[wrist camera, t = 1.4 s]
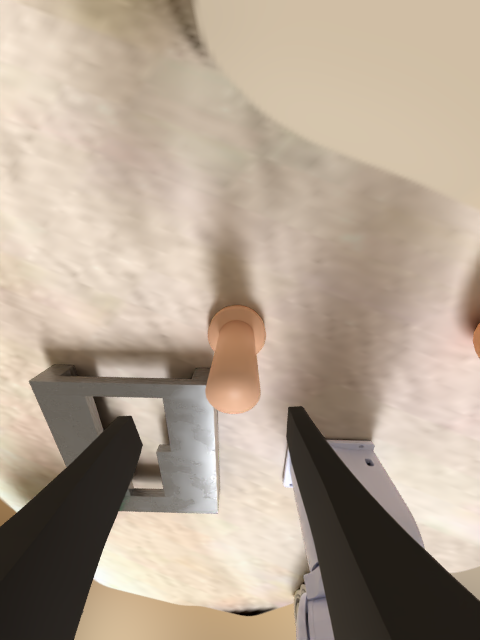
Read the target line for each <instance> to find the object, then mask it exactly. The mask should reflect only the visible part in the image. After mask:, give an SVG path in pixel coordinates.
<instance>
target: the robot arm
mask: <svg viewBox="0 0 480 640" xmlns="http://www.w3.org/2000/svg"><path fill="white" fill-rule="evenodd" d="M286 437H287V443H288V450H287V457H286V464H285V471H284V478H283V485H284V486H285V487H293V490H294V495H295V500H296V505H297V510H298V515H299V520H300V525H301V530H302V535H303V540H304V545H305V550H306V555H307V560H308V565H309V570H310V573H308V574H305V575H304V582H305V587H306V592H305V593H303V594H302V596H301V598H300V601H299V607H298V613H297V620H296V637H297V640H480V601H479V600H478V599H477V598H476V597H475V596H474V595H472V593H470V592H469V591H468V590H467V589H466V588H465V587H464V586H463V585H461V583H459V582H458V581H457V580H456V579H455V578H454V577H453V576H452V575H451V574H450V573H449V572H448V571H447V570H446V569H444V568H443V567H442V566H441V565H440V564H439V563H438V562H437V561H436V560H435V559H434V558H433V557H432V556H431V555H430V554H429V553H428V552H427V551H426V550H425V548H424V544H423V540H422V537H421V534H420V532H419V529H418V526H417V524H416V522H415V520H414V518H413V516H412V514H411V512H410V510H409V508H408V507H407V505H406V503H405V502H404V500H403V498H402V497H401V495H400V494H399V492H398V490H397V489H396V487H395V485H394V484H393V482H392V481H391V479H390V477H389V476H388V474H387V472H386V471H385V469H384V467H383V466H382V464H381V463H380V461H379V459H378V458H377V456H376V454H375V453H374V451H373V450H374V447H375V445H374V444H373V442H372V441H354V440H326V439H325V438H324V437H323V435H322V434H321V433H320V431H319V430H318V428H317V427H316V426H315V424H314V423H313V421H312V420H311V418H310V417H309V415H308V414H307V412H306V411H305V409H304V408H303V407H302V406H299V407H288V421H287V435H286ZM142 446H143V444H142V442H141V439H140V437H139V434H138V431H137V429H136V426H135V424H134V421H133V419H132V416H119V417H117V418H116V419H115V420H114V421H113V422H112V423H111V424H110V425H109V426H108V427H107V428H106V429H105V430H104V431H103V432H102V433H101V434H100V435H99V436H98V437H97V438H96V439H95V440H94V441H93V442H92V443H91V444H90V445H89V446H88V447H87V448H86V449H85V450H84V451H83V452H82V453H81V454H80V455H79V456H78V457H77V458H76V459H75V460H74V461H73V462H72V463H71V464H70V465H69V466H68V467H67V468H66V469H65V470H63V471H62V472H61V473H60V474H59V475H58V476H57V477H56V478H55V479H54V480H53V481H52V482H51V483H49V484H48V485H47V486H46V487H45V488H44V489H43V490H42V491H41V492H40V493H39V494H38V495H37V496H35V497H34V498H33V499H32V500H31V501H30V502H29V503H28V504H26V505H25V506H24V507H23V508H22V509H21V510H19V511H18V512H17V513H16V514H15V515H14V516H13V517H11V518H10V519H9V520H8V521H7V522H5V523H4V524H3V525H2V526H1V527H0V640H74V638H75V634H76V631H77V628H78V624H79V621H80V618H81V615H82V612H83V609H84V606H85V602H86V599H87V596H88V593H89V590H90V587H91V584H92V581H93V578H94V575H95V572H96V569H97V566H98V563H99V560H100V557H101V554H102V551H103V548H104V546H105V543H106V541H107V538H108V535H109V533H110V531H111V528H112V526H113V523H114V521H115V519H116V516H117V514H118V511H119V509H120V507H121V504H122V502H123V499H124V497H125V495H126V492H127V490H128V487H129V485H130V482H131V480H132V477H133V475H134V472H135V470H136V466H137V463H138V460H139V456H140V453H141V449H142Z"/></svg>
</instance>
